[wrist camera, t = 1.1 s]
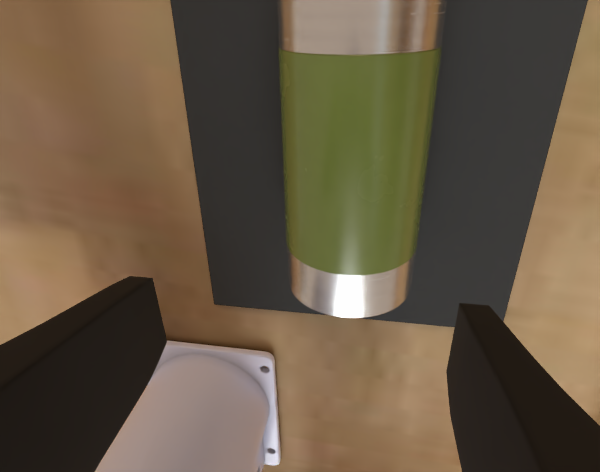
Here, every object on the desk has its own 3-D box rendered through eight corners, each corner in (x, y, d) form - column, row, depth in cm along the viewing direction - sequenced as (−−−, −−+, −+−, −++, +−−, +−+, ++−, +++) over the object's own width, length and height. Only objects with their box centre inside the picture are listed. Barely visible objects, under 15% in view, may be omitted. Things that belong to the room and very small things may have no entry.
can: (440, -17, 14) (408, 252, 19) (293, -13, 15) (299, 245, 20) (463, -23, 10) (414, 325, 15) (256, -16, 11) (276, 312, 15)
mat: (499, 326, 20) (500, 331, 20) (216, 300, 23) (214, 304, 22) (692, -423, 10) (703, -438, 9) (127, -332, 12) (120, -342, 12)
